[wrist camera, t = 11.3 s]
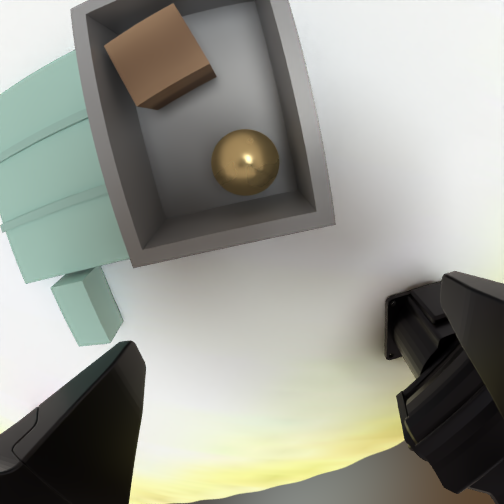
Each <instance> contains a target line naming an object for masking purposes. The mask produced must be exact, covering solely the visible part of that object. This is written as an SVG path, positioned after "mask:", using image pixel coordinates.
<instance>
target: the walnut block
mask: <svg viewBox="0 0 504 504" xmlns="http://www.w3.org/2000/svg"><path fill="white" fill-rule="evenodd" d="M104 47H105V49H106V51H107V53H108V55H109V56H110V58H111V60H112V62H113V64H114V66H115V68H116V70H117V71H118V73H119V75H120V77H121V79H122V81H123V83H124V84H125V86H126V88H127V90H128V92H129V94H130V95H131V97H132V99H133V101H134V103H135V105H136V106H137V107H143V108H149V109H154V110H159V109H160V108H162V107H164V106H165V105H167V104H169V103H170V102H172V101H174V100H176V99H177V98H179V97H181V96H182V95H184V94H186V93H188V92H189V91H191V90H193V89H195V88H197V87H199V86H200V85H202V84H204V83H206V82H208V81H210V80H212V79H214V78H216V77H217V76H216V74H215V72H214V70H213V68H212V67H211V65H210V63H209V61H208V59H207V58H206V56H205V54H204V53H203V51H202V49H201V48H200V46H199V44H198V43H197V41H196V39H195V37H194V36H193V34H192V33H191V31H190V29H189V28H188V26H187V24H186V23H185V21H184V19H183V18H182V16H181V15H180V13H179V11H178V10H177V8H176V7H175V5H174V3H173V4H171V5H169V6H167V7H165V8H163V9H162V10H160V11H158V12H156V13H154V14H153V15H151V16H149V17H148V18H146V19H144V20H143V21H141V22H139V23H138V24H136V25H134V26H133V27H131V28H130V29H128V30H127V31H125V32H123V33H122V34H120V35H119V36H117V37H116V38H114V39H113V40H112V41H110V42H109V43H107V44H106V45H104Z"/></svg>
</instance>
